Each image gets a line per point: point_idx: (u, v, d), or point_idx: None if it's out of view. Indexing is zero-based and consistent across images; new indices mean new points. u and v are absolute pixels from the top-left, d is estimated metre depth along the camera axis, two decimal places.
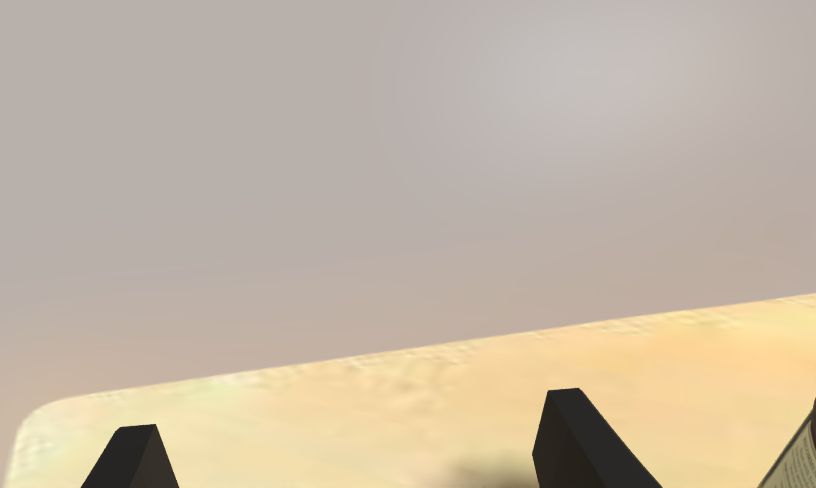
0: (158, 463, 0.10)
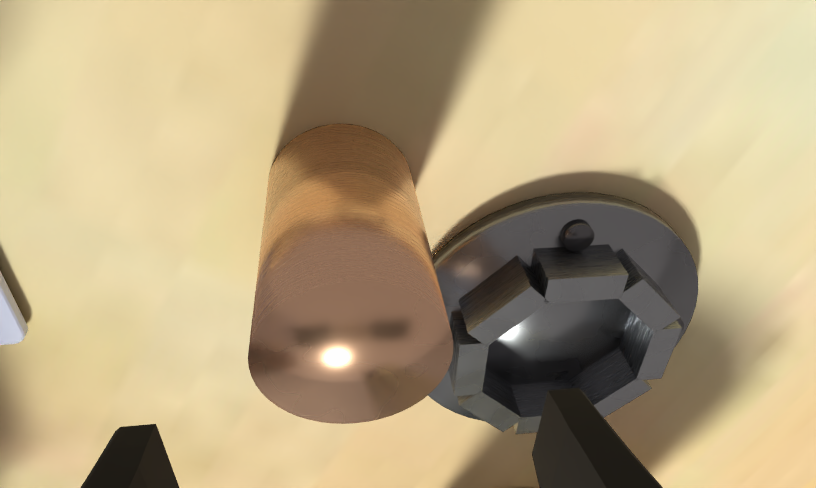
0: (158, 463, 0.10)
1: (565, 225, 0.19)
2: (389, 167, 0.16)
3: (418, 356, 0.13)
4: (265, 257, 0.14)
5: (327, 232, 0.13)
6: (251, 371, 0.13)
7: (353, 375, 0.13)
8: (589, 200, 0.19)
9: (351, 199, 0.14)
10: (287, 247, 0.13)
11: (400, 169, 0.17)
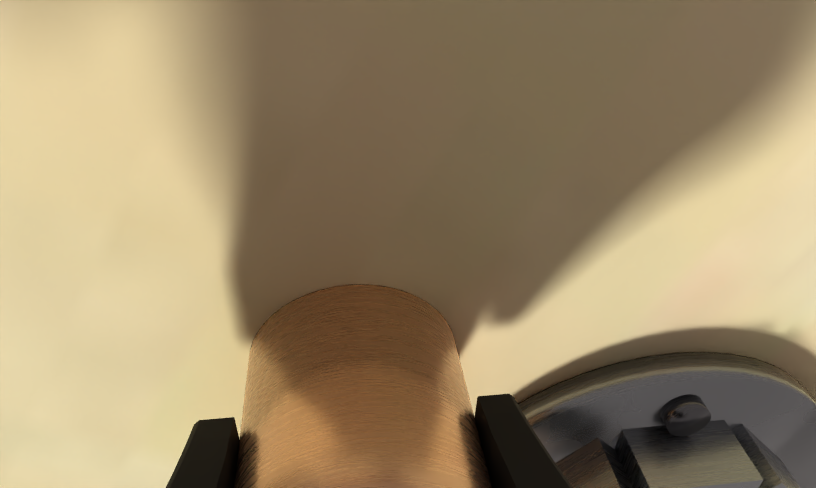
0: (235, 456, 0.11)
1: (669, 403, 0.14)
2: (432, 369, 0.10)
3: None
4: None
5: None
6: None
7: None
8: (703, 368, 0.14)
9: (378, 471, 0.08)
10: None
11: (445, 359, 0.11)
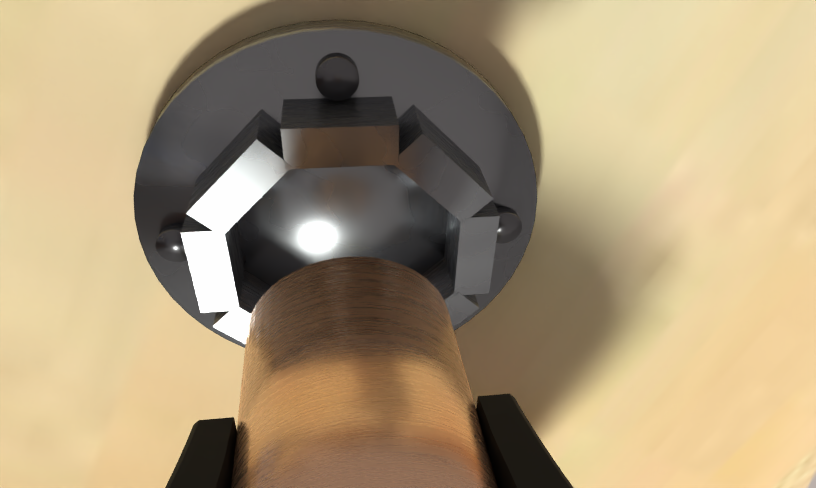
0: None
1: (318, 62, 0.14)
2: (415, 330, 0.11)
3: None
4: None
5: None
6: None
7: None
8: (352, 27, 0.14)
9: (359, 429, 0.09)
10: None
11: (432, 322, 0.11)
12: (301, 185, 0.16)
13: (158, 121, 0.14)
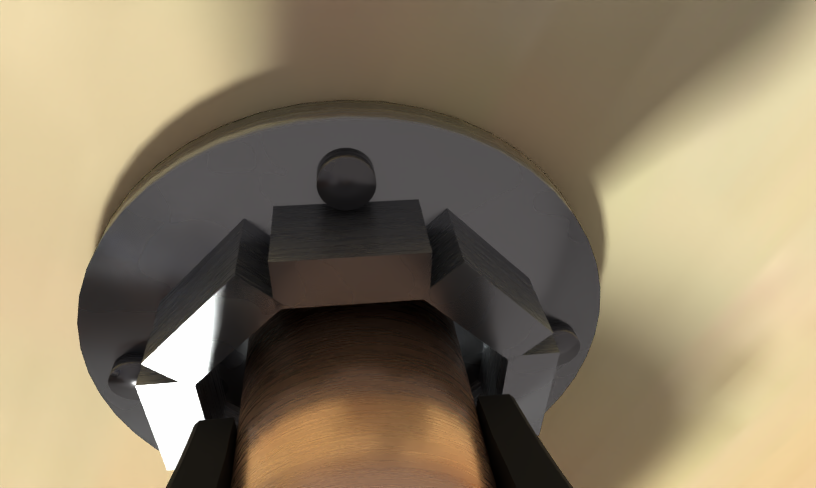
0: None
1: (321, 160, 0.10)
2: (418, 341, 0.10)
3: None
4: None
5: None
6: None
7: None
8: (366, 112, 0.10)
9: (359, 443, 0.08)
10: None
11: (435, 332, 0.11)
12: None
13: (105, 235, 0.11)
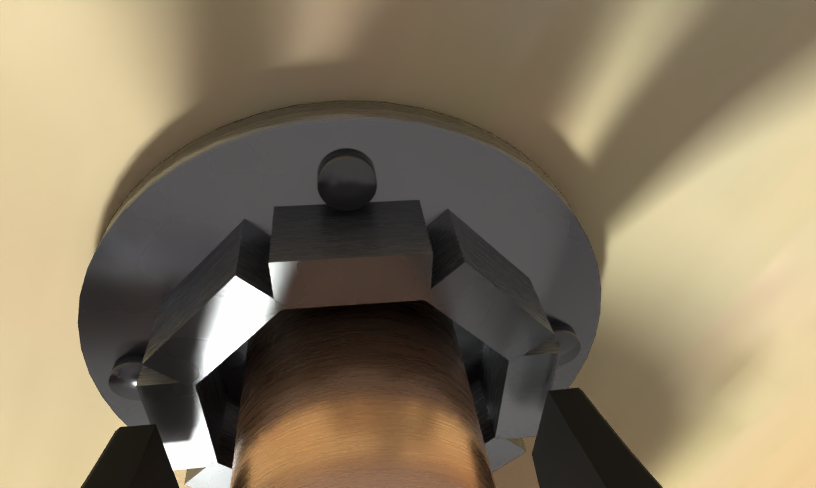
0: (158, 463, 0.10)
1: (322, 161, 0.10)
2: (418, 341, 0.10)
3: None
4: None
5: None
6: None
7: None
8: (367, 113, 0.10)
9: (358, 444, 0.08)
10: None
11: (435, 332, 0.11)
12: None
13: (105, 236, 0.11)
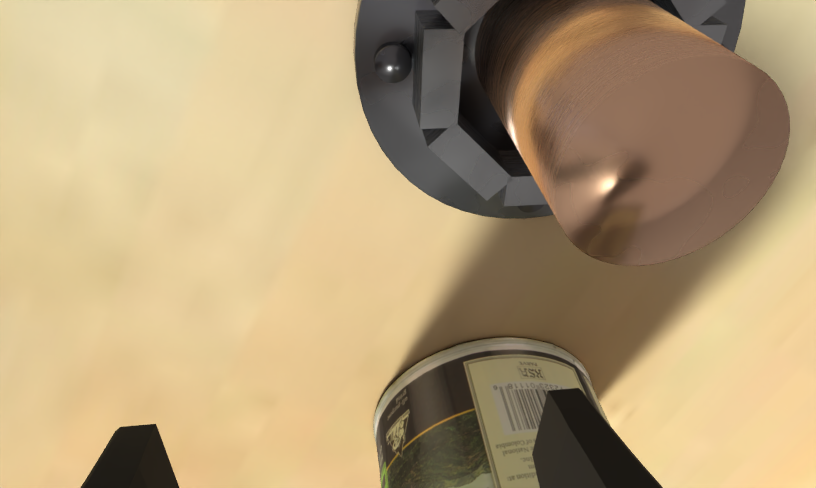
0: (158, 463, 0.10)
1: None
2: None
3: (745, 164, 0.11)
4: (539, 79, 0.12)
5: (627, 29, 0.11)
6: (556, 195, 0.11)
7: (665, 196, 0.11)
8: None
9: (629, 5, 0.12)
10: (577, 54, 0.11)
11: None
12: None
13: None
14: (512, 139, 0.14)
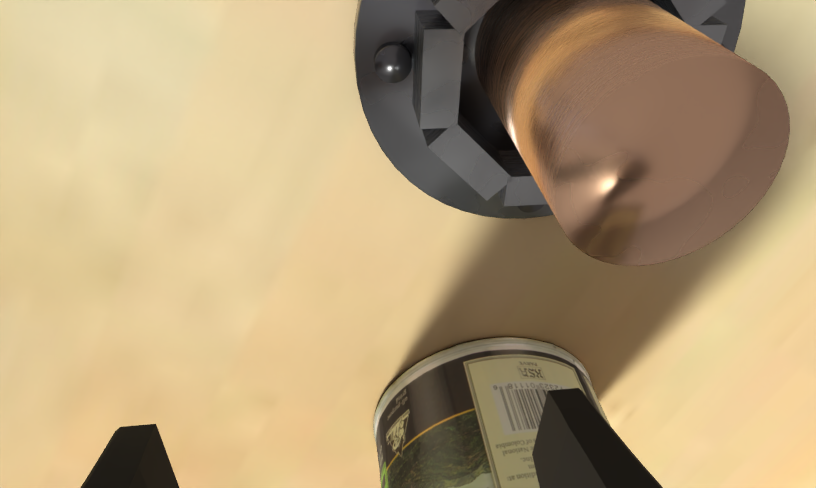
0: (158, 463, 0.10)
1: None
2: None
3: (744, 165, 0.11)
4: (538, 79, 0.12)
5: (627, 29, 0.11)
6: (556, 195, 0.11)
7: (665, 196, 0.11)
8: None
9: (629, 5, 0.12)
10: (577, 54, 0.11)
11: None
12: None
13: None
14: (512, 139, 0.14)
